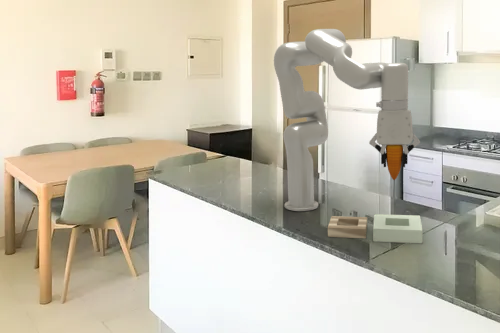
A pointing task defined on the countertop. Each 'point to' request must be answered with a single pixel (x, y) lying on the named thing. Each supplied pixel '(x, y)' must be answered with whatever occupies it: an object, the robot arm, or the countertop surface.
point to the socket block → (347, 227)
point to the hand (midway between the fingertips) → (394, 165)
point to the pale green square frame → (397, 228)
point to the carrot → (394, 159)
